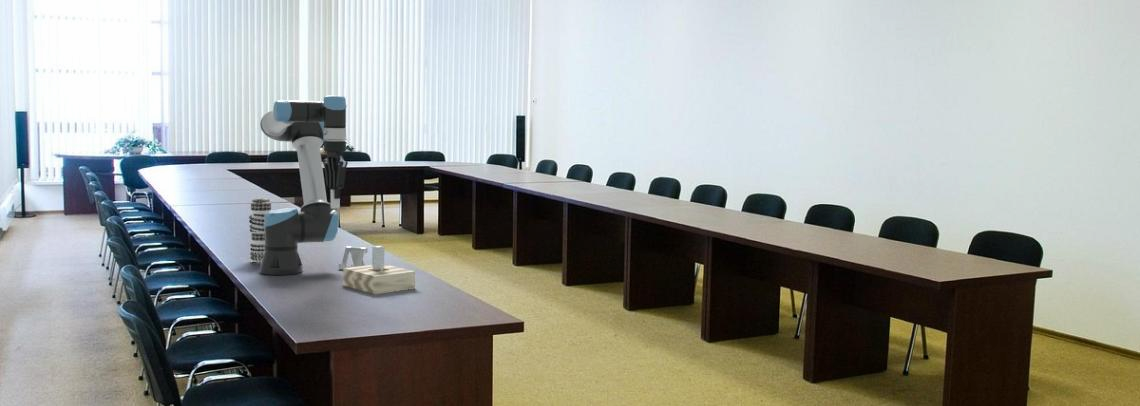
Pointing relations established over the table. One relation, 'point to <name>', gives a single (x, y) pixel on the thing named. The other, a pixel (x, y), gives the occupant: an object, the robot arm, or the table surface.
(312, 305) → the table surface
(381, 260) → the steel pin
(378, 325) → the table surface
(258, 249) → the decorative candle
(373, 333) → the table surface
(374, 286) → the block
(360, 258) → the portable electronic device stand
